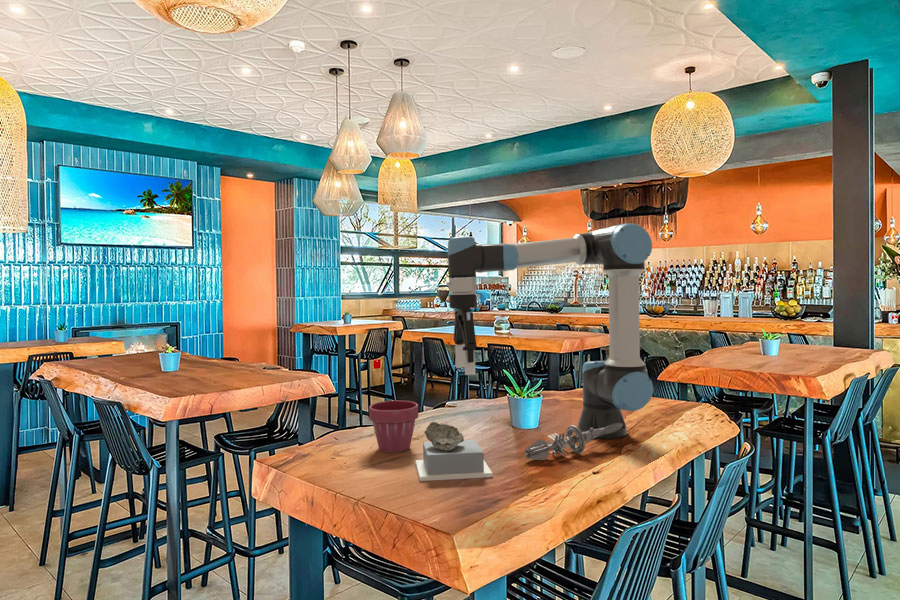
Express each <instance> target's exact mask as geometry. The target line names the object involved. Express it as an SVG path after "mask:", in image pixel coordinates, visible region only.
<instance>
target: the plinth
mask: <svg viewBox="0 0 900 600" xmlns="http://www.w3.org/2000/svg"><path fill="white" fill-rule="evenodd" d="M422 448H423V449H422V455H423V456H422V459H415V467H416V471H417V475H418V479H419V481H420V482H428V481H447V480H464V479H481V478H484V477H485V478H493V476H494V475H493V472H492V470H491V469H490V466H488V464H487V462H486V461H485V459H484V457H485V456H484V454H485V453H484V451H483V450H482V448H481V446H480V445H479V443H478V442H477V441H476V439H464V441H463V442H462V443H459V444H458V445H457V447H456V448H455V449H454V450H449V451H444V450H440V449H437V448H435V447H434V446H433V445H432V443H431V441H424V442H422Z"/></svg>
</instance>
